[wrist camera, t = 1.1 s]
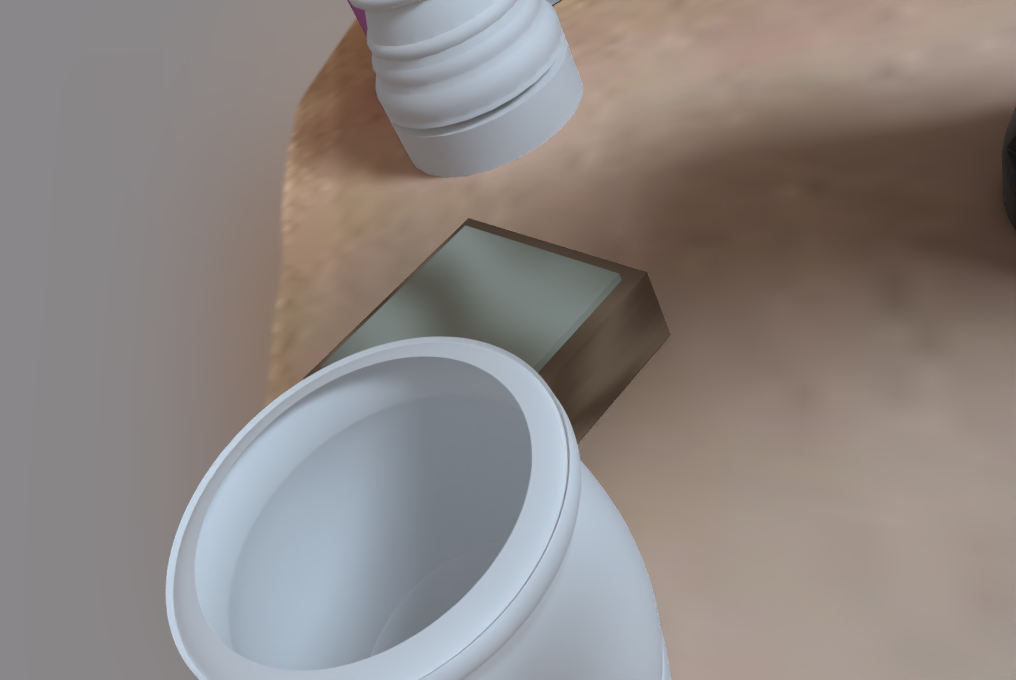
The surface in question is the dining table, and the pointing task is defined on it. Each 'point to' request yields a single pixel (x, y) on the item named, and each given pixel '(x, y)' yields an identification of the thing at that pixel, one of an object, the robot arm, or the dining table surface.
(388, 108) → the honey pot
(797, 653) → the dining table surface
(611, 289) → the plinth
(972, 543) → the dining table surface
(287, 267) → the dining table surface
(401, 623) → the jar
